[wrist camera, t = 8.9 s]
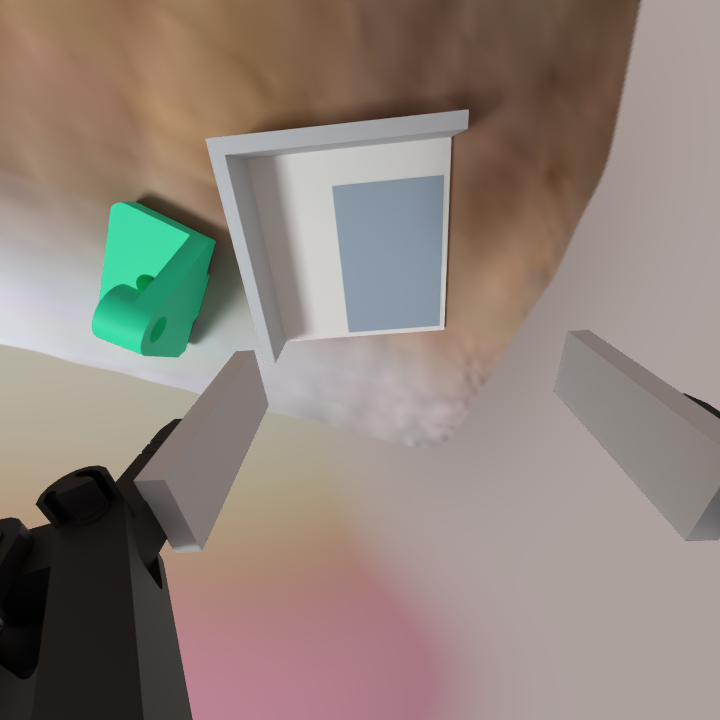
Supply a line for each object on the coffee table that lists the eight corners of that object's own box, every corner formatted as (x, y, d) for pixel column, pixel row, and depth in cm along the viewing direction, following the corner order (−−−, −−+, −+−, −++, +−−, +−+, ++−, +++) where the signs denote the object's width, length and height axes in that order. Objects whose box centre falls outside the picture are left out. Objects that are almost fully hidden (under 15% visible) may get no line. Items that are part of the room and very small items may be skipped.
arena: (277, 340, 34) (264, 364, 30) (232, 145, 26) (205, 138, 21) (443, 328, 33) (455, 350, 29) (450, 121, 25) (468, 109, 21)
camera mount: (133, 196, 28) (21, 203, 19) (220, 239, 30) (156, 265, 20) (115, 314, 33) (21, 364, 24) (190, 345, 35) (128, 403, 26)
